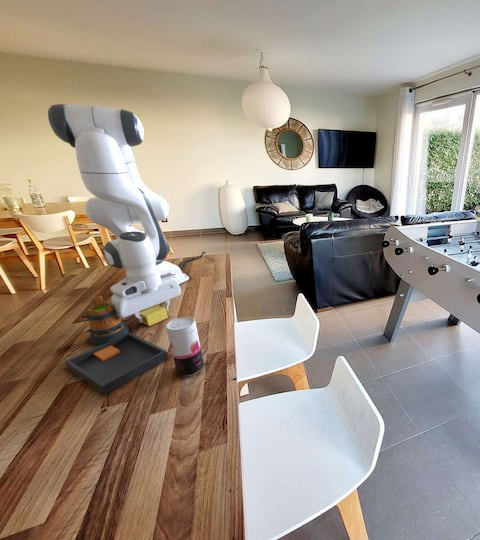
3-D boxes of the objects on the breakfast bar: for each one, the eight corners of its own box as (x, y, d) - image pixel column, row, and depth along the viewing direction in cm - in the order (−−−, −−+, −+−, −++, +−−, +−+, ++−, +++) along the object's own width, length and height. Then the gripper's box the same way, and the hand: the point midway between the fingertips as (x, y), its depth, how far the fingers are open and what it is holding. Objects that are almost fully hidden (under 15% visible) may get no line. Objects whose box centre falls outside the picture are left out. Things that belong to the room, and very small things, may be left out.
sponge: (160, 314, 105) (158, 304, 103) (168, 317, 103) (165, 308, 101) (141, 322, 99) (138, 312, 98) (149, 326, 98) (146, 316, 96)
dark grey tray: (131, 338, 91) (129, 332, 90) (168, 357, 84) (166, 350, 83) (67, 368, 78) (64, 361, 77) (104, 394, 71) (101, 386, 70)
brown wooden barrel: (132, 336, 92) (123, 305, 88) (90, 349, 85) (77, 316, 81) (126, 319, 100) (117, 290, 96) (87, 330, 94) (75, 299, 89)
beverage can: (207, 369, 80) (198, 323, 74) (181, 381, 76) (169, 333, 70) (199, 357, 84) (190, 313, 79) (174, 368, 80) (162, 322, 74)
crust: (112, 347, 86) (111, 345, 85) (120, 352, 84) (119, 349, 84) (94, 356, 82) (93, 353, 82) (102, 361, 80) (101, 358, 80)
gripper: (170, 269, 105) (177, 302, 110) (103, 289, 88) (116, 327, 93) (181, 272, 103) (188, 306, 108) (115, 294, 86) (127, 333, 91)
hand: (154, 316), depth 100 cm, fingers closed on sponge, 6 cm apart
